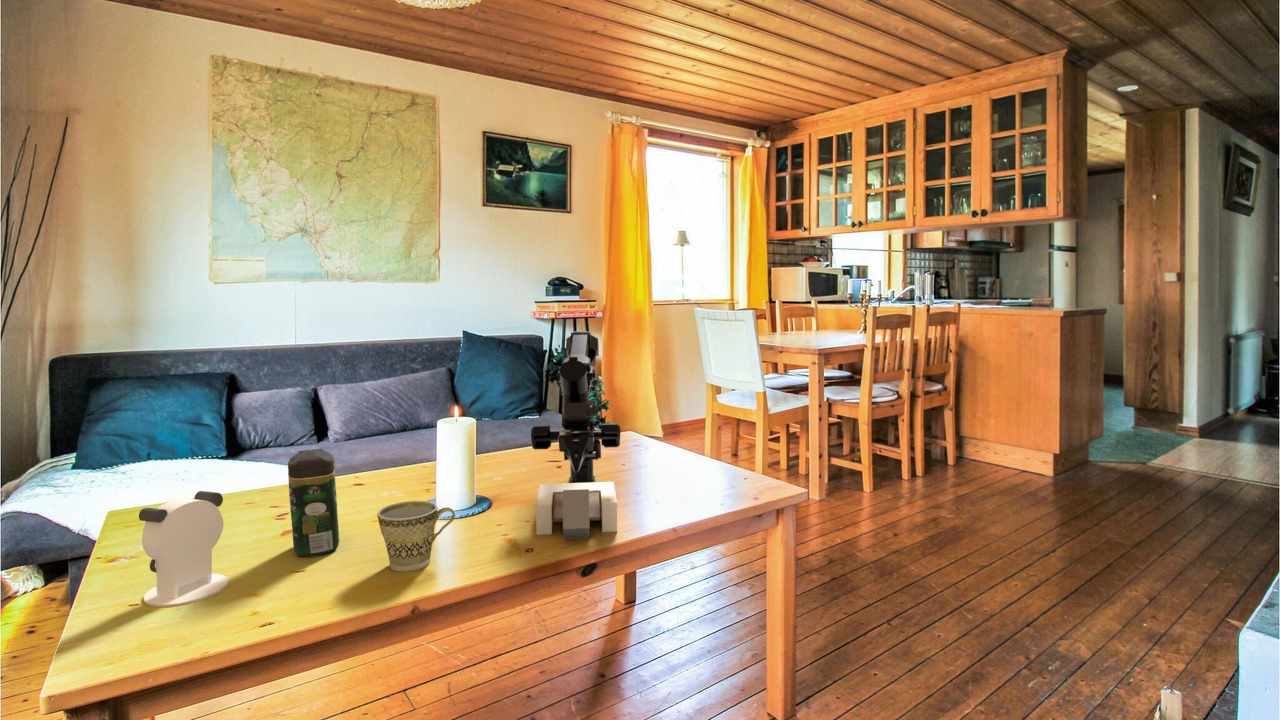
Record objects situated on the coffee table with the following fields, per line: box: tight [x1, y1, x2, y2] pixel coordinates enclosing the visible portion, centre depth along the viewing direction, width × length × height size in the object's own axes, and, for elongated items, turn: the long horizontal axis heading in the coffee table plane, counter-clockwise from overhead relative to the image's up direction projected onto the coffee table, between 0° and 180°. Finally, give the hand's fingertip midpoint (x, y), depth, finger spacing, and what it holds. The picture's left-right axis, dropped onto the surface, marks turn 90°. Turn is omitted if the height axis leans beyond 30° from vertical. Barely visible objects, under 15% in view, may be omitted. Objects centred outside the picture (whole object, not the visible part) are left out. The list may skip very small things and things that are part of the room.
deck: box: [535, 481, 618, 536], centre depth 139 cm, size 14×16×6 cm
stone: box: [562, 489, 591, 540], centre depth 130 cm, size 5×5×8 cm
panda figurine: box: [138, 490, 229, 608], centre depth 108 cm, size 12×11×15 cm
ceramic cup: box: [376, 500, 456, 573], centre depth 118 cm, size 13×10×10 cm
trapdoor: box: [553, 491, 601, 523], centre depth 136 cm, size 9×9×1 cm
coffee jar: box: [287, 448, 340, 557], centre depth 125 cm, size 10×8×19 cm
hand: (576, 471), depth 137 cm, fingers closed
